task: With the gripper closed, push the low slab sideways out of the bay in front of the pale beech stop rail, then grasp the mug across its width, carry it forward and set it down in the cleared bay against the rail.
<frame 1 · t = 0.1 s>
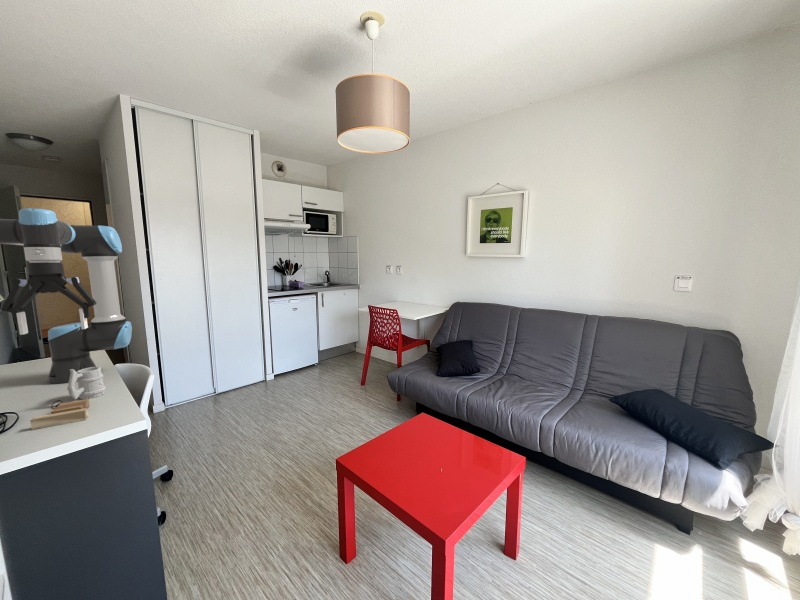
hand: (55, 331, 100), 28 cm above the table, fingers open, 13 cm apart
stop rail: (61, 423, 100), on the table
slab: (71, 413, 107), on the table
mug: (87, 397, 119), on the table
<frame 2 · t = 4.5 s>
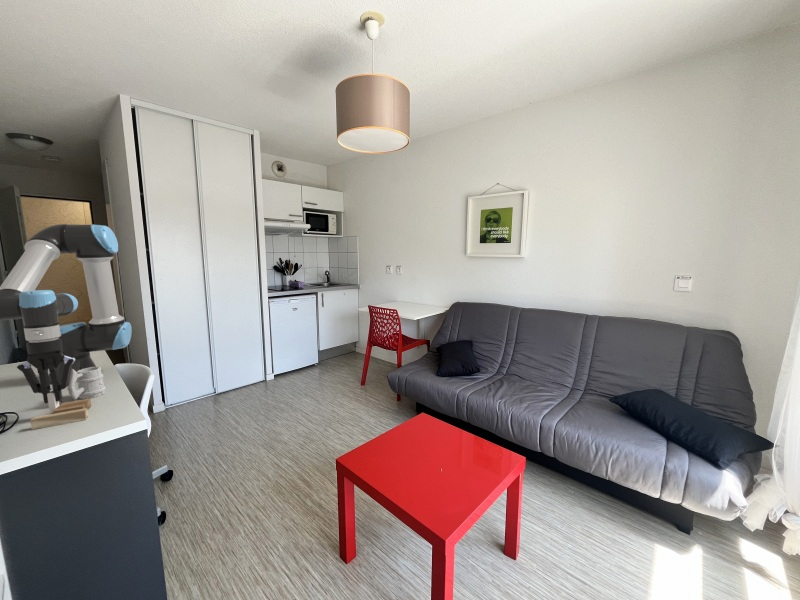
hand: (55, 411, 105), 1 cm above the table, fingers closed
nothing on the table moved.
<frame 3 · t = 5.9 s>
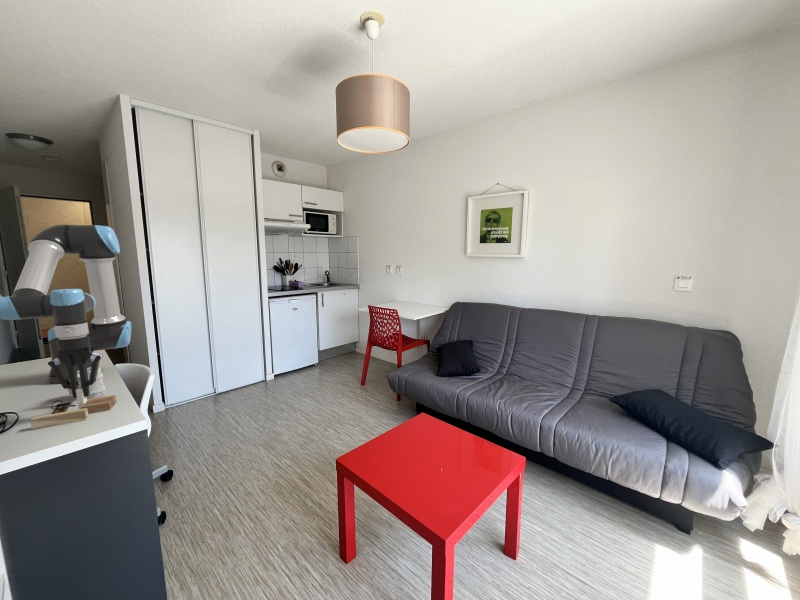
hand: (83, 406, 108), 1 cm above the table, fingers closed
slab: (100, 409, 110), on the table, touching gripper
everything else where it was.
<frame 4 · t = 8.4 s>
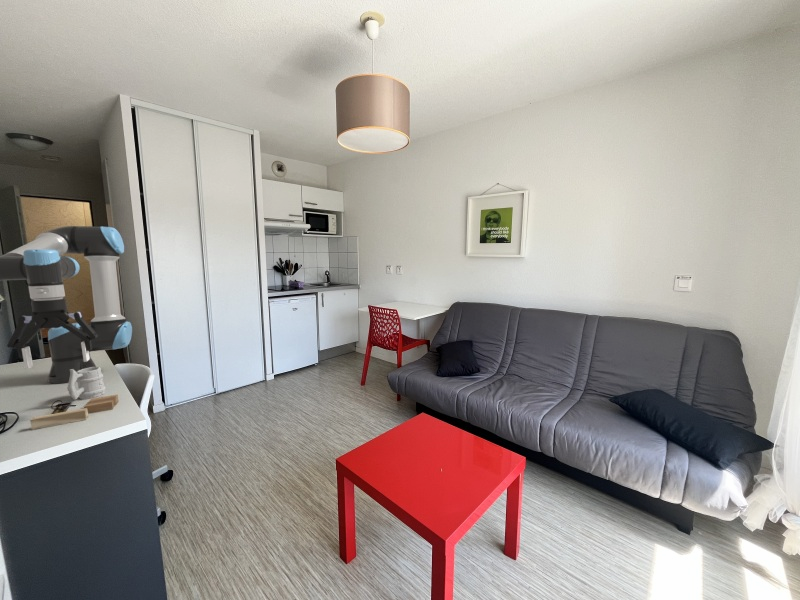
hand: (58, 364, 105), 16 cm above the table, fingers open, 13 cm apart
slab: (102, 408, 110), on the table
everything else where it was.
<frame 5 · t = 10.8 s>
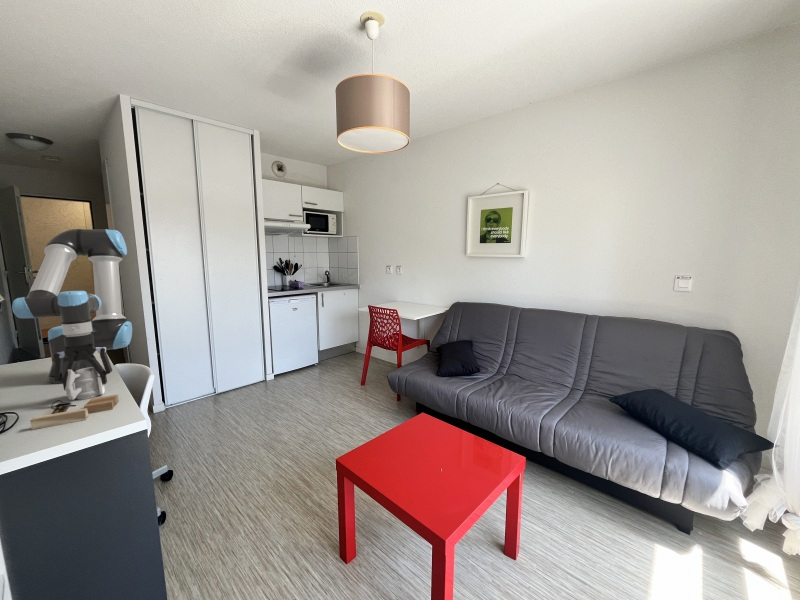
hand: (87, 395, 119), 1 cm above the table, fingers closed on mug, 8 cm apart
mug: (84, 398, 118), on the table, touching gripper
everything else where it was.
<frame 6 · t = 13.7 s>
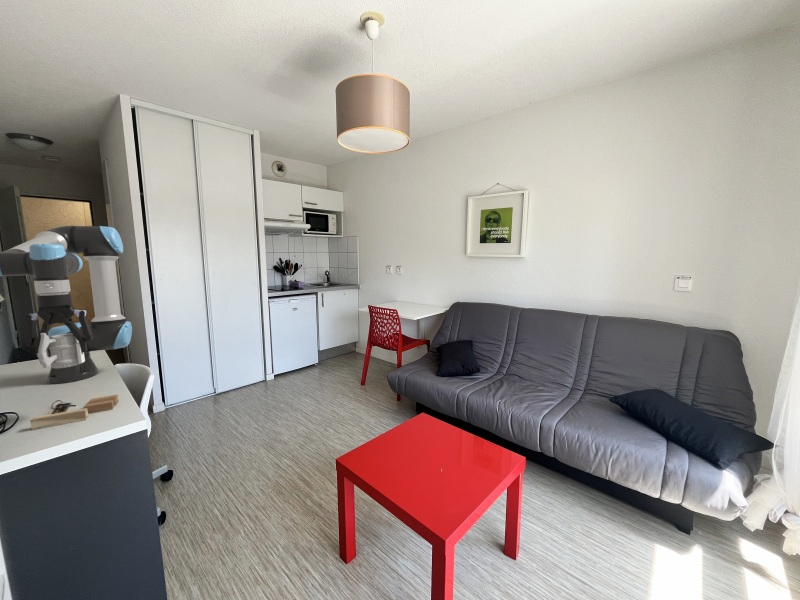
hand: (64, 364, 105), 16 cm above the table, fingers closed on mug, 8 cm apart
mug: (61, 367, 104), point 15 cm above the table, touching gripper
everything else where it was.
when the fingers open (3 cm above the table, at t = 16.6 s): mug drops 2 cm, on the table.
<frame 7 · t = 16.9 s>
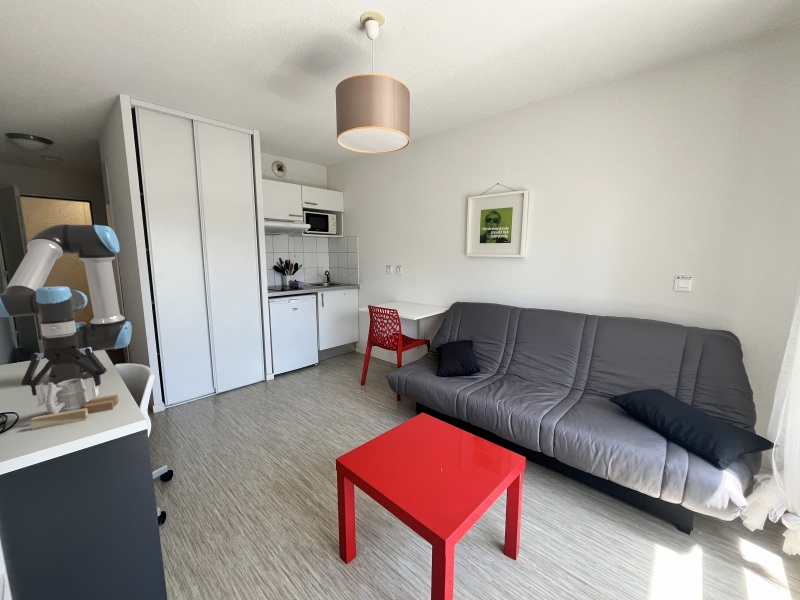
hand: (69, 399, 106), 4 cm above the table, fingers open, 12 cm apart
mug: (68, 413, 106), on the table
everything else where it was.
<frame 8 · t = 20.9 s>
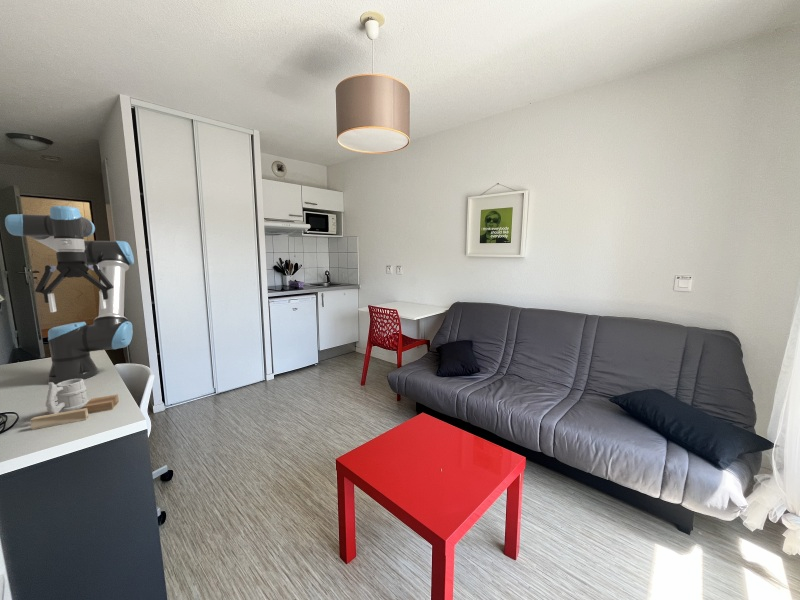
hand: (79, 310, 118), 32 cm above the table, fingers open, 13 cm apart
nothing on the table moved.
at the end: mug inside the target area (0.8 cm from its centre), on the table; mug tilted 0°; slab inside the target area (1.6 cm from its centre), on the table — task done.
